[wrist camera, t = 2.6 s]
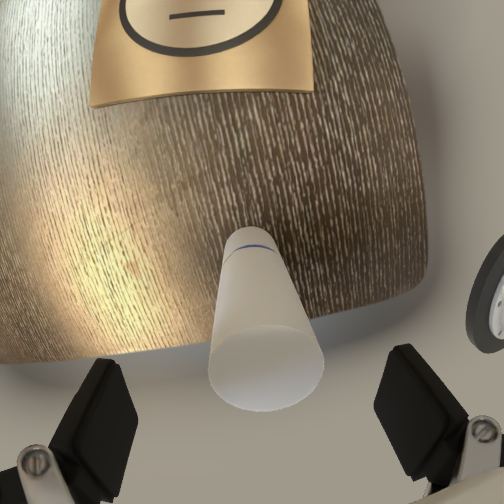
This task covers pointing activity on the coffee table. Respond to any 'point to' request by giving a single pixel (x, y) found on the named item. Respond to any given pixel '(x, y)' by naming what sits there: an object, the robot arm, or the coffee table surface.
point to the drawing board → (200, 48)
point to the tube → (261, 329)
